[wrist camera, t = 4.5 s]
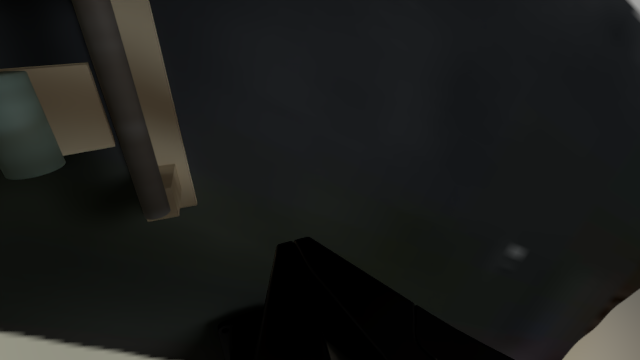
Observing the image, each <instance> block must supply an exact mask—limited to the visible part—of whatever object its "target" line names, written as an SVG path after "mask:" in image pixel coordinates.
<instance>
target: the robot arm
mask: <svg viewBox="0 0 640 360" xmlns="http://www.w3.org/2000/svg"><path fill="white" fill-rule="evenodd" d="M224 328H225V329H224ZM218 335H219V338H220V342H221V346H222V350H223V354H224V358H225V360H514V359H512V358H510V357H508V356H506V355H504V354H503V353H501V352H499V351H497V350H495V349H493V348H491V347H489V346H487V345H485V344H483V343H481V342H479V341H478V340H476V339H474V338H472V337H470V336H468V335H467V334H465V333H463V332H461V331H459V330H457V329H455V328H454V327H452V326H450V325H449V324H447V323H445V322H444V321H442V320H440V319H439V318H437V317H435V316H434V315H432V314H431V313H429V312H427V311H426V310H424V309H423V308H421V307H419V306H418V305H416V306H415V305H414V303H413V302H411V301H410V300H408V299H407V298H405V297H403V296H402V295H400V294H399V293H397V292H396V291H394V290H392V289H391V288H389V287H388V286H386V285H384V284H383V283H381V282H380V281H378V280H377V279H375V278H373V277H372V276H370V275H369V274H367V273H366V272H364V271H362V270H361V269H359V268H358V267H356V266H355V265H353V264H351V263H350V262H348V261H347V260H345V259H343V258H342V257H340V256H339V255H337V254H336V253H334V252H332V251H331V250H329V249H328V248H326V247H325V246H323V245H321V244H320V243H318V242H317V241H315V240H313V239H312V238H310V237H304V238H300V239H297V240H295V241H294V243H293V242H292V241H289V242H285V243H281V244H278V245H277V247H276V251H275V256H274V261H273V266H272V271H271V276H270V281H269V285H268V290H267V295H266V300H265V305H264V310H263V311H259V312H256V313H252V314H249V315H245V316H241V317H238V318H234V319H231V320H227V321H224V322H221V323H220V324H219V325H218Z"/></svg>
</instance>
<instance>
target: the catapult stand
mask: <svg viewBox="0 0 640 360" xmlns="http://www.w3.org/2000/svg"><path fill="white" fill-rule="evenodd" d="M110 1H111V4H112V7H113V11H114V14H115V18H116V21H117V25H118V28H119V32H120V35H121V39H122V42H123V46H124V49H125V53H126V56H127V60H128V63H129V67H130V70H131V73H132V77H133V80H134V84H135V87H136V91H137V94H138V98H139V101H140V105H141V108H142V112H143V115H144V119H145V122H146V126H147V129H148V133H149V136H150V139H151V143H152V146H153V150H154V153H155V157H156V160H157V164H158V167H159V171H160V174H161V178H162V181H163V185H164V188H165V192H166V195H167V199H168V202H169V205H170V209H171V211H170V213H169V214H167V215H166V216H164V217H162V218H159V219H154V220H150V219H147V221H148V222H150V221H155V220H161V219H166V218H171V217H177V216H179V210H180V208H183V207H189V206H194V205H197V199H196V195H195V191H194V187H193V182H192V178H191V174H190V170H189V166H188V162H187V157H186V153H185V149H184V145H183V141H182V136H181V132H180V128H179V124H178V120H177V115H176V111H175V107H174V103H173V99H172V94H171V90H170V86H169V82H168V78H167V74H166V69H165V65H164V61H163V57H162V53H161V48H160V44H159V40H158V36H157V32H156V27H155V23H154V19H153V15H152V11H151V7H150V2H149V0H110Z"/></svg>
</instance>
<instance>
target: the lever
mask: <svg viewBox="0 0 640 360" xmlns="http://www.w3.org/2000/svg"><path fill="white" fill-rule="evenodd" d="M71 1H72V4H73V7H74V10H75V13H76V16H77V19H78V22H79V24H80V27H81V30H82V33H83V36H84V39H85V42H86V45H87V48H88V51H89V54H90V57H91V60H92V63H93V66H94V69H95V72H96V75H97V78H98V81H99V84H100V87H101V90H102V93H103V96H104V98H105V101H106V104H107V107H108V110H109V113H110V116H111V119H112V122H113V125H114V128H115V131H116V134H117V137H118V140H119V143H120V146H121V149H122V152H123V155H124V158H125V161H126V164H127V167H128V170H129V173H130V175H131V178H132V181H133V184H134V187H135V190H136V193H137V196H138V199H139V202H140V205H141V208H142V211H143V214H144V217H145V218H146V219H150V220H154V219H159V218H162V217H164V216H166V215H167V214H169V213H170V211H171V209H170V205H169V202H168V199H167V195H166V192H165V188H164V185H163V181H162V178H161V174H160V171H159V167H158V164H157V160H156V157H155V153H154V150H153V146H152V143H151V139H150V136H149V133H148V129H147V126H146V122H145V119H144V115H143V112H142V108H141V105H140V101H139V98H138V94H137V91H136V87H135V84H134V80H133V77H132V73H131V70H130V67H129V63H128V60H127V56H126V53H125V49H124V46H123V42H122V39H121V35H120V32H119V28H118V25H117V21H116V18H115V14H114V11H113V7H112V4H111V1H110V0H71ZM109 147H115V139H114V136H113V134H112V131H111V128H110V125H109V122H108V119H107V116H106V113H105V110H104V107H103V104H102V102H101V99H100V96H99V93H98V90H97V87H96V84H95V81H94V78H93V75H92V72H91V70H90V67H89V64H88V62H86V63H73V64H60V65H47V66H34V67H20V68H7V69H0V169H1V171H2V172H3V174H4V176H5V178H7V179H12V180H19V179H28V178H33V177H37V176H41V175H45V174H48V173H50V172H53V171H55V170H57V169H59V168H61V167H63V166H64V165H65V163H66V161H65V159H64V157H63V156H65V155H70V154H76V153H82V152H87V151H93V150H98V149H104V148H109Z"/></svg>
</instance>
